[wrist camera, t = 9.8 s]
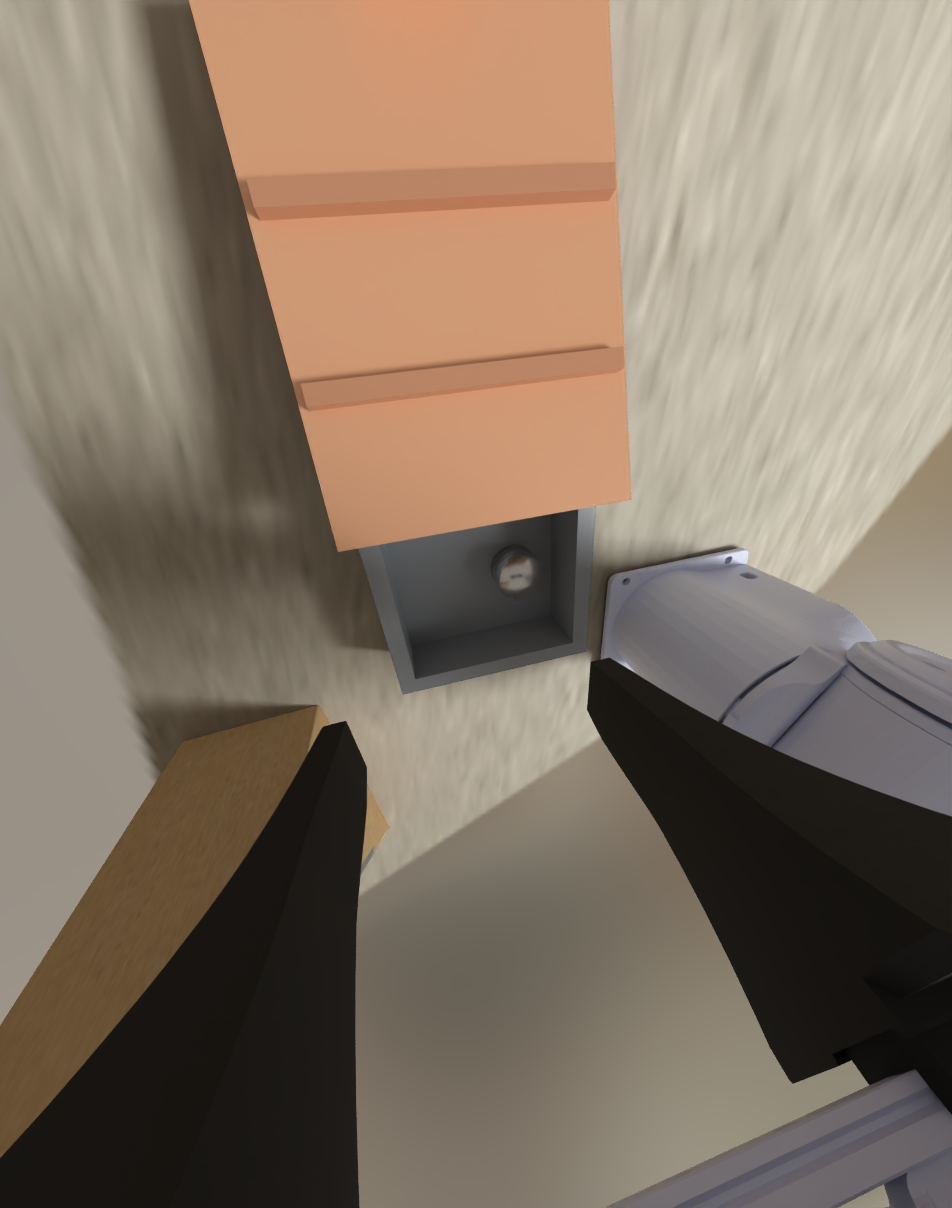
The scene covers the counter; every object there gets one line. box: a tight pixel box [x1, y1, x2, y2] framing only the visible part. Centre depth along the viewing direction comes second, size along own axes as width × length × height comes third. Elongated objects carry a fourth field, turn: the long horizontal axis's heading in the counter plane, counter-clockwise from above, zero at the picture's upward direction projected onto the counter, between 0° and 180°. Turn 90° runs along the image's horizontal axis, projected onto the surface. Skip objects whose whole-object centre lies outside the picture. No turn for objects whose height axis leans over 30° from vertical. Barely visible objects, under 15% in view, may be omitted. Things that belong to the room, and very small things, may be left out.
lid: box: [189, 0, 631, 552], centre depth 9 cm, size 11×18×3 cm, turn 7°
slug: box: [491, 545, 546, 601], centre depth 18 cm, size 2×2×2 cm
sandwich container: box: [0, 705, 389, 1158], centre depth 18 cm, size 9×15×15 cm, turn 9°
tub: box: [358, 506, 596, 694], centre depth 16 cm, size 10×13×4 cm
